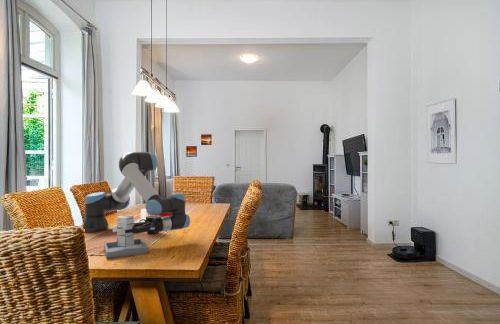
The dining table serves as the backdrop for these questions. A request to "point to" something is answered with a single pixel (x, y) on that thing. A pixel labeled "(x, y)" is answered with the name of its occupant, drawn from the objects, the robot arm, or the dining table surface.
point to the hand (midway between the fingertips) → (115, 230)
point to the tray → (125, 249)
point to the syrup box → (125, 239)
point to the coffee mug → (149, 219)
